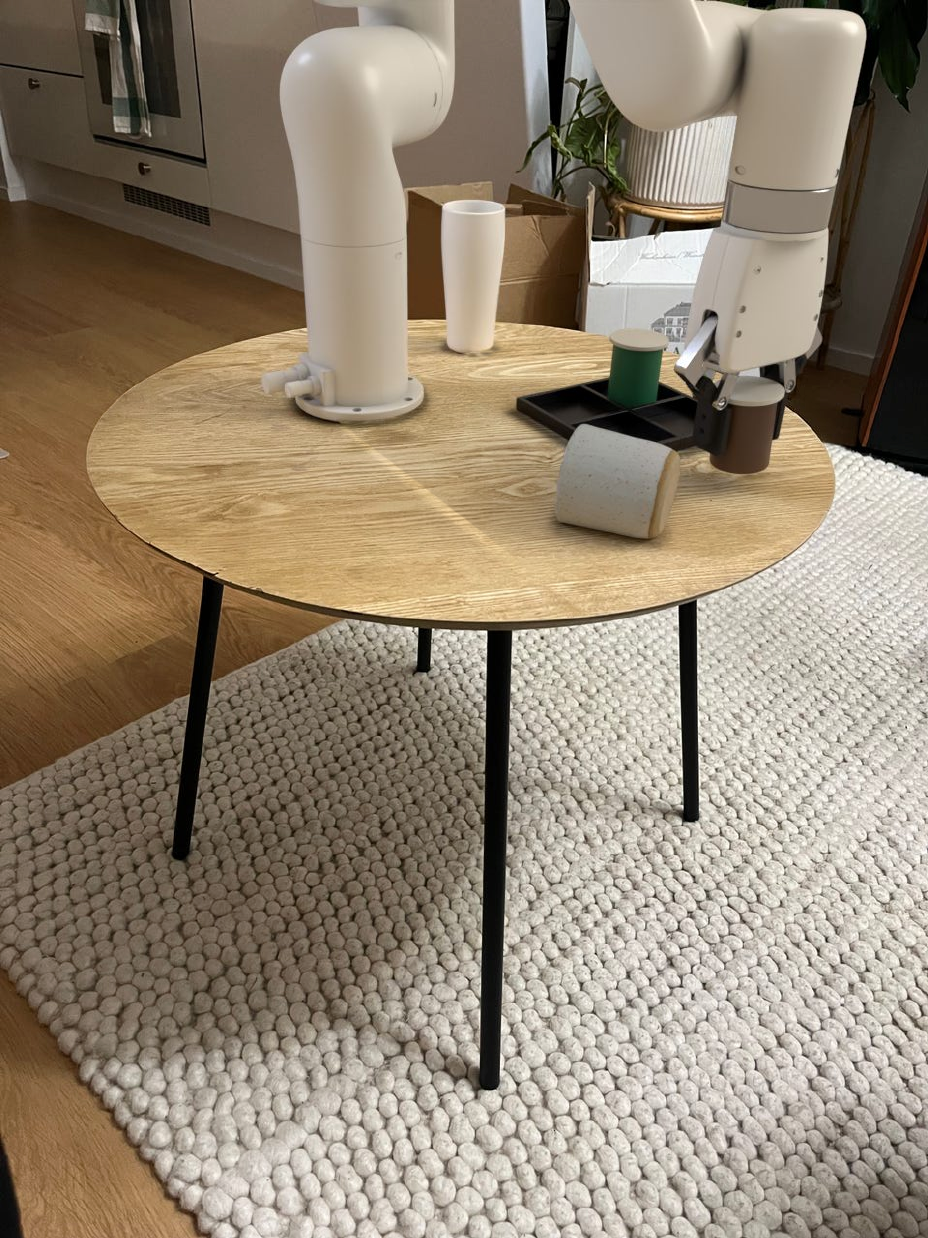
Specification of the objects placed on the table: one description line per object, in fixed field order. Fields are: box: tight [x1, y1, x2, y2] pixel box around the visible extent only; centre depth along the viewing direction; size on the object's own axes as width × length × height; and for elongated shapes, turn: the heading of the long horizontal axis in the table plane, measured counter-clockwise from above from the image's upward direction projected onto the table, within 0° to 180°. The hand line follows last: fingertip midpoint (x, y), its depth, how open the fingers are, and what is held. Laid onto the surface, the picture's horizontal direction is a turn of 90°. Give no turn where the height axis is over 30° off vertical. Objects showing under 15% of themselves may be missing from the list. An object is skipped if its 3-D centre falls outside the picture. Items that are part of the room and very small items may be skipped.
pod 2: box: [709, 375, 785, 475], centre depth 81 cm, size 6×6×6 cm
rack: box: [515, 376, 698, 453], centre depth 94 cm, size 15×15×2 cm
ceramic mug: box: [554, 424, 682, 540], centre depth 77 cm, size 11×8×8 cm
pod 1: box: [607, 327, 670, 408], centre depth 97 cm, size 6×6×6 cm
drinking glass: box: [440, 199, 506, 354], centre depth 108 cm, size 7×7×15 cm
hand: (735, 440), depth 82 cm, fingers closed on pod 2, 5 cm apart
